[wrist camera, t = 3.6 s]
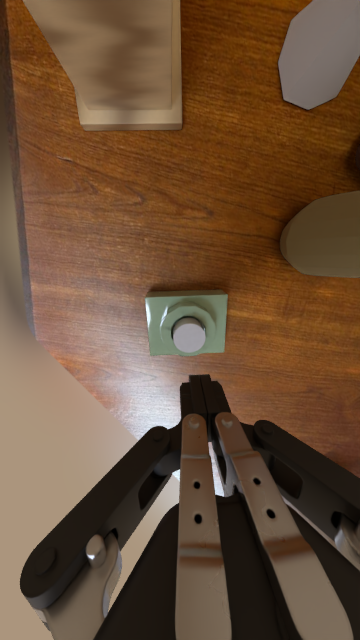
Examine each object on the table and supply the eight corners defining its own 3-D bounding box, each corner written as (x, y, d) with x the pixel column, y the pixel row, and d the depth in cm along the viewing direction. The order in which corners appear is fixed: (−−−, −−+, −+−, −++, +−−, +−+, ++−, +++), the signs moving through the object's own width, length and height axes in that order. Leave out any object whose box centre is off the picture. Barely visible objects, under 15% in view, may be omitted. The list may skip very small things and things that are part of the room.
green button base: (152, 344, 29) (148, 363, 24) (147, 291, 26) (142, 301, 22) (218, 341, 29) (227, 359, 25) (221, 289, 27) (232, 298, 22)
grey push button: (173, 345, 24) (173, 353, 22) (172, 317, 23) (172, 324, 21) (202, 343, 24) (205, 352, 22) (203, 316, 23) (206, 322, 21)
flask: (340, 110, 20) (484, -7, 11) (272, 113, 20) (360, -2, 11) (359, 6, 18) (567, -261, 8) (281, 9, 18) (405, -259, 8)
